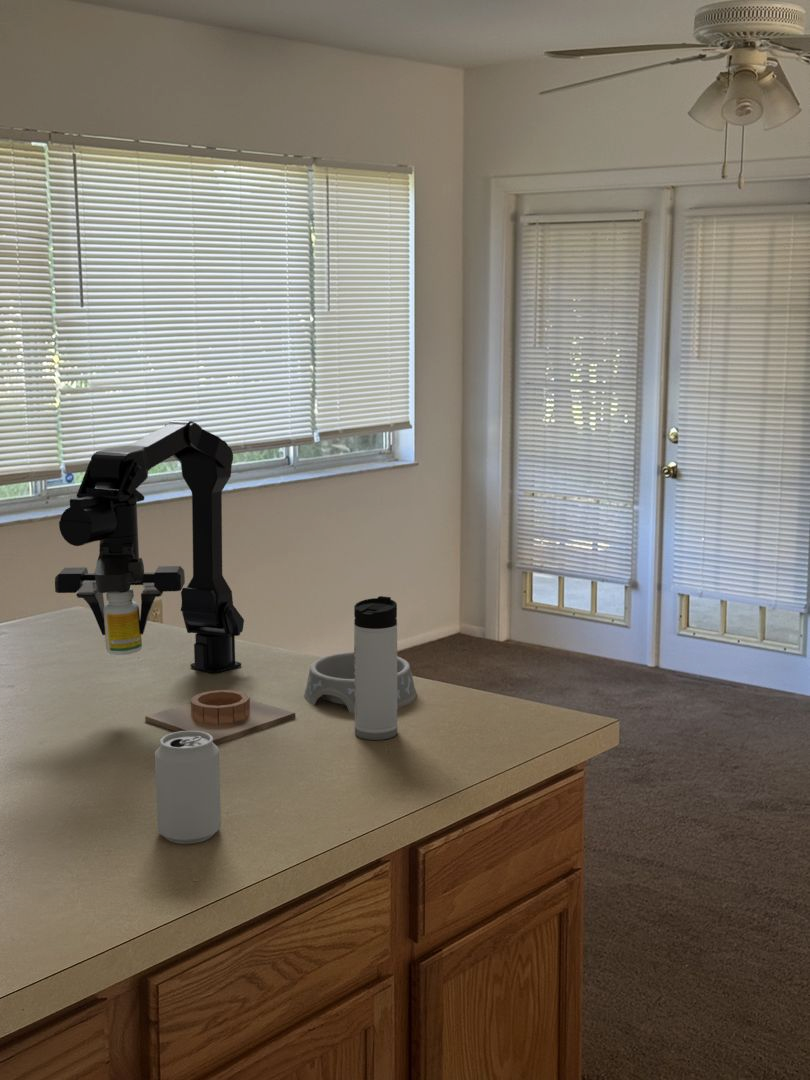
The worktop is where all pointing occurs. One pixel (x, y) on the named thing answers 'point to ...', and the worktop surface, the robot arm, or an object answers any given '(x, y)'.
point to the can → (188, 787)
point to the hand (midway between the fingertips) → (123, 634)
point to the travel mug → (375, 668)
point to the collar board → (221, 730)
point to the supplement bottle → (122, 624)
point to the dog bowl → (350, 681)
